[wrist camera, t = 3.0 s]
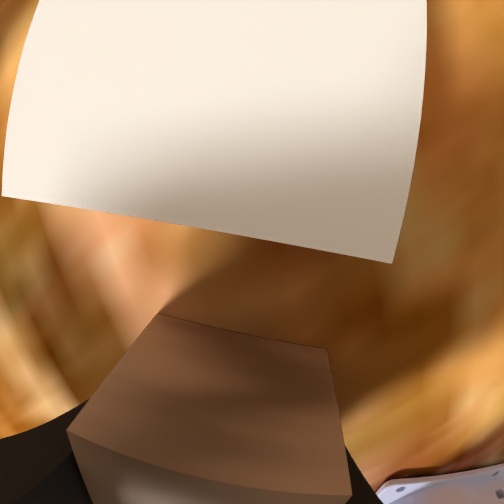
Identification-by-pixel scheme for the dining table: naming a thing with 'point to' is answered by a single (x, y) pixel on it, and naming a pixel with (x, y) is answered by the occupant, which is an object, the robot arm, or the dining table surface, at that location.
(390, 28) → the cream block
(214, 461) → the walnut cube
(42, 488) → the robot arm
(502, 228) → the dining table surface
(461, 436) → the dining table surface
